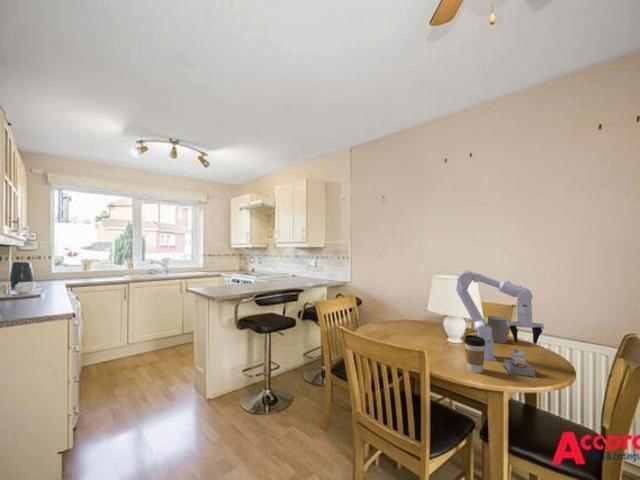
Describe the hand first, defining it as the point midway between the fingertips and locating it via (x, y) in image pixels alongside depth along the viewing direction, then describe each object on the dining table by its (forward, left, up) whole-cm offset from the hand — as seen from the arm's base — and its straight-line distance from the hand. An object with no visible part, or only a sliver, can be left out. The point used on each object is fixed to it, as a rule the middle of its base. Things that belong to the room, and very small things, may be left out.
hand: (525, 342), depth 135 cm
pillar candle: (-3, +34, -10) cm, 36 cm away
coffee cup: (-24, -14, -10) cm, 30 cm away
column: (-6, -10, -8) cm, 14 cm away
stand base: (-6, -10, -10) cm, 15 cm away
